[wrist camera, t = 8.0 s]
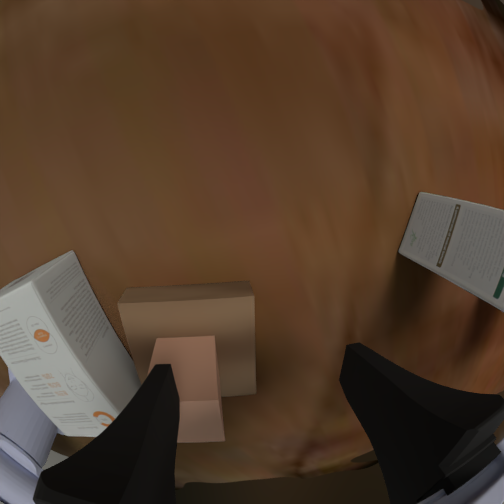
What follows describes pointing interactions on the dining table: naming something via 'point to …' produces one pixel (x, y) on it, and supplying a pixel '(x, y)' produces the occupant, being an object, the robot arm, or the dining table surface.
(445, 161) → the dining table surface
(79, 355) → the small box
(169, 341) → the terracotta block
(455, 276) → the syrup box
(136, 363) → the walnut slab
